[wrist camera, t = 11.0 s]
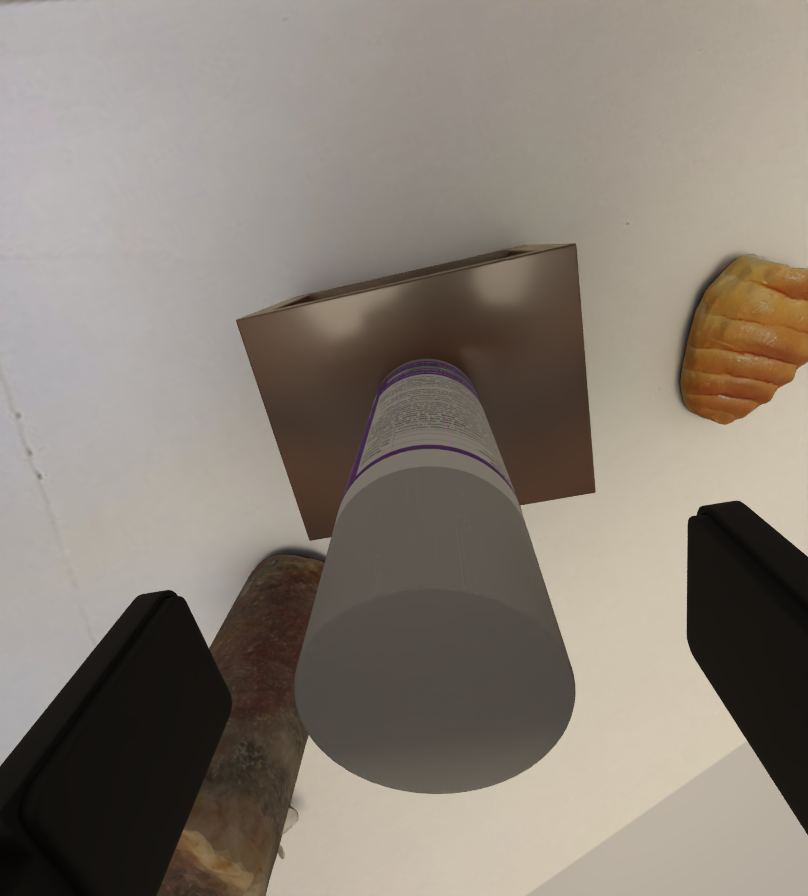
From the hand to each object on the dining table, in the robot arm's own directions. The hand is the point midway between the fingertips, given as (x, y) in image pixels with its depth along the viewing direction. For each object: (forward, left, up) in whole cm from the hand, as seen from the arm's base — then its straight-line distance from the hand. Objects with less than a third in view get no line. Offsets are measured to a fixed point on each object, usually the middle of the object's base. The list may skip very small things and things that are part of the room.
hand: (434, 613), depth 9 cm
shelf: (0, 0, -23) cm, 23 cm away
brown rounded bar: (+15, -13, -24) cm, 31 cm away
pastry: (+2, +19, -24) cm, 30 cm away
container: (0, 0, -14) cm, 14 cm away
